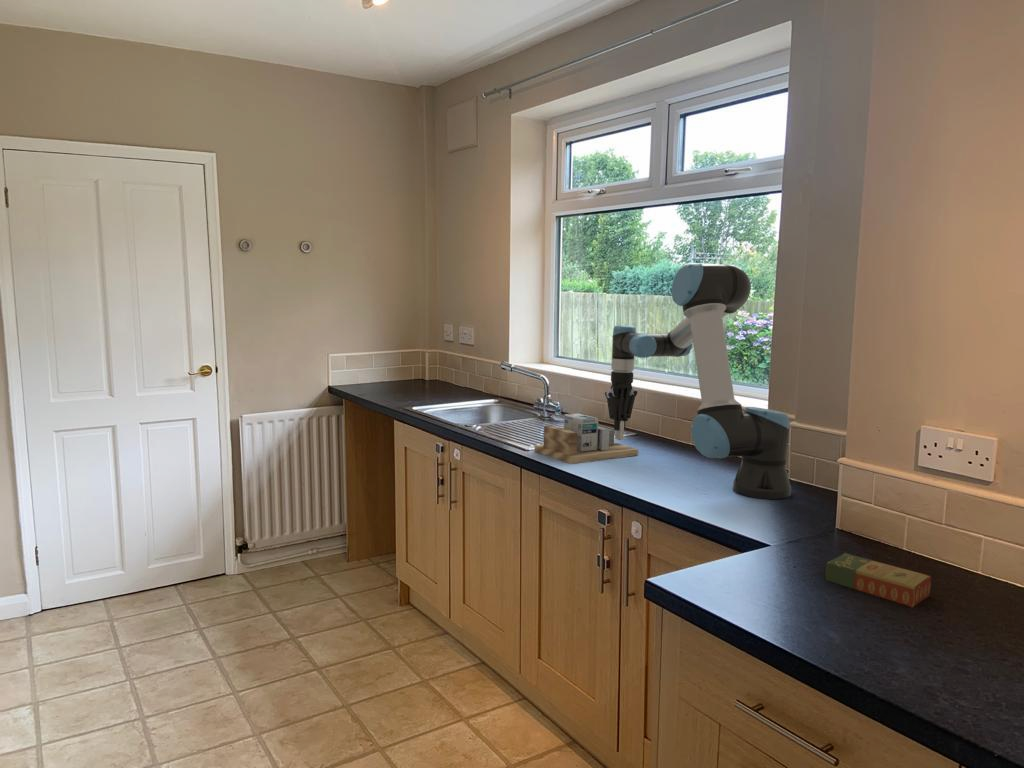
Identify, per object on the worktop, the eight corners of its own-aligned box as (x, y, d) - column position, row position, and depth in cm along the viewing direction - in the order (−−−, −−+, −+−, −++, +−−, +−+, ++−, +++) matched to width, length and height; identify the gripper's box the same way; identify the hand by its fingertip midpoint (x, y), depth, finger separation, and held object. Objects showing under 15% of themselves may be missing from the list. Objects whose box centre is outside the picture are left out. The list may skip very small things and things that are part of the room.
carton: (912, 609, 132) (915, 586, 131) (823, 581, 144) (825, 560, 143) (929, 597, 137) (931, 574, 137) (842, 571, 149) (844, 550, 149)
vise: (637, 455, 247) (639, 428, 246) (570, 463, 232) (571, 435, 231) (599, 443, 264) (600, 418, 263) (534, 451, 249) (535, 424, 248)
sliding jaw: (624, 448, 248) (625, 427, 247) (601, 450, 242) (602, 429, 241) (597, 440, 259) (598, 420, 258) (575, 442, 254) (575, 422, 253)
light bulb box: (598, 450, 243) (599, 417, 242) (581, 452, 240) (582, 419, 238) (578, 444, 252) (579, 412, 251) (562, 445, 249) (563, 413, 248)
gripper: (629, 369, 259) (625, 435, 262) (600, 370, 252) (597, 439, 255) (644, 371, 253) (640, 439, 256) (615, 373, 245) (611, 443, 249)
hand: (619, 439), depth 255 cm, fingers closed
